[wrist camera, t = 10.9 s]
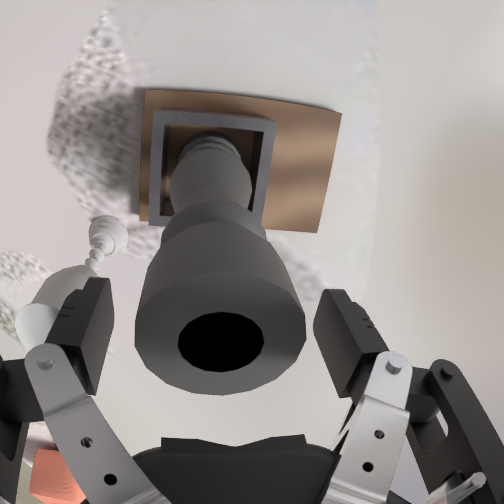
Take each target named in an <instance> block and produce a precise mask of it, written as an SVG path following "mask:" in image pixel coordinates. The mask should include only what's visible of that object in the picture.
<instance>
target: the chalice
mask: <svg viewBox="0 0 504 504" xmlns="http://www.w3.org/2000/svg"><path fill="white" fill-rule="evenodd" d="M89 240H90V245H91V248H92V250H91V251H90V253H89V254H90V258H88V259H86V261H85V265H79V266H74V267H70V268H65V269H62V270H60V271H58V272H56V273H54V274H52V275H51V276H50V277H48V278H47V279H46V280H45V282H44V283H43V285H42V287H41V288H40V290H39V291H38V293H37V294H36V296H35V298H34V299H33V301H32V302H31V304H27V305H25V306H24V307H23V308H21V309H20V310H19V311H18V313H17V316H16V318H15V326H16V332H17V334H18V337H19V339H20V341H21V343H22V344H23V346H24V347H25V348H26V350H27V351H28V352H29V351H30V350H31V349H32V348H34V347H35V346H37V345H40V344H44V342H45V340H46V338H47V336H48V333H49V331H50V329H51V327H52V325H53V323H54V321H55V319H56V317H57V316H58V313H59V311H60V309H61V308H62V305H63V303H64V301H65V299H66V297H67V296H68V295H69V294H71V293H72V292H73V291H74V290H75V289H81V290H83V288H84V286H85V284H86V282H87V280H88V278H89V277H97V274H96V273H95V272H96V271H98V269H99V263H102V262H103V261H104V258H105V257H110V256H112V255H115V254H118V253H120V252H121V251H123V250H124V248H125V247H126V246H127V243H128V232H127V229H126V227H125V226H124V224H123V223H122V222H121V221H119V220H118V219H117V218H114V217H112V216H101V217H98V218H97V219H95V220H94V221H93V222H92V224H91V225H90V228H89Z"/></svg>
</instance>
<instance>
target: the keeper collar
mask: <svg viewBox="0 0 504 504" xmlns="http://www.w3.org/2000/svg"><path fill="white" fill-rule="evenodd" d="M170 123H171V124H188V125H203V126H215V127H226V128H236V129H246V130H254V131H255V134H254V141H253V148H252V155H251V162H250V169H249V175H250V180H251V186H252V193H251V197H250V201H249V205H248V208H247V209H248V210H249V211H251V212H252V213H254V215H255V216H256V218H257V219H258V221H259V222H260V224H261V222H262V216H263V209H264V203H265V197H266V191H267V184H268V178H269V172H270V165H271V159H272V153H273V147H274V140H275V134H276V127H277V122H276V121H274V120H272V119H270V118H268V117H263V116H255V115H247V114H238V113H229V112H218V111H207V110H193V109H176V108H160V109H158V110H156V111H154V115H153V128H152V142H151V159H150V182H149V225H151V226H167V224H168V223H169V221H170V220H171V218H172V217H173V215H174V214H175V211H174V209H173V206H172V202H171V199H170V198H166V178H167V161H168V147H169V134H170Z"/></svg>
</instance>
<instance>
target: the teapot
mask: <svg viewBox="0 0 504 504" xmlns="http://www.w3.org/2000/svg"><path fill="white" fill-rule="evenodd" d="M30 493H31V494H32V495H34V496H35V497H37V498H38V499H40V500H41V501H42V502H44V503H46V504H80V503H81V502H82V501H83V500H84V499H85V498H86V497H85V495H84V493H83V492H82V490H81V489H80V487H79V485H78V484H77V482H76V480H75V479H74V477H73V475H72V473H71V472H70V470H69V468H68V466H67V464H66V463H65V461H64V459H63V457H62V455H61V453H60V451H57V450H54V449H50V450H46V449H37V452H36V455H35V458H34V462H33V468H32V474H31V483H30Z"/></svg>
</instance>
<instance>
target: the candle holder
mask: <svg viewBox="0 0 504 504" xmlns="http://www.w3.org/2000/svg"><path fill="white" fill-rule="evenodd" d="M251 193H252V186H251V180H250V175H249V173H248V171H247V170H246V168H245V166H244V165H243V163H242V158H241V155H240V153H239V150H238V149H237V147H236V146H235V144H234V142H233V141H232V139H230V138H229V137H227V136H225V135H224V134H222V133H219V132H214V131H205V132H200V133H197V134H195V135H194V136H192V137H191V138H189V139H188V140H187V141H186V143H185V144H184V145H183V147H182V148H181V150H180V153H179V155H178V159H177V165H176V169H175V170H174V172H173V173H172V176H171V181H170V187H169V195H170V199H171V202H172V206H173V209H174V211H175V214H174V215H173V217H172V218H171V220H170V221H169V223H168V224H167V226H166V227H165V229H164V231H163V232H162V238H161V245H160V249H159V250H158V252H157V253H156V255H155V257H154V258H153V260H152V261H151V263H150V265H149V267H148V269H147V273H146V277H145V281H144V286H143V289H142V294H141V298H140V302H139V306H138V311H137V315H136V320H135V348H136V350H137V351H138V353H139V355H140V357H141V359H142V360H143V362H144V364H145V366H146V368H147V369H149V370H150V371H151V372H153V373H154V374H155V375H156V376H158V377H159V378H160V379H161V380H163V381H164V382H165V383H167V384H169V385H172V386H174V387H177V388H180V389H183V390H186V391H188V392H191V393H196V394H208V395H229V394H234V393H240V392H246V391H251V390H253V389H256V388H258V387H260V386H262V385H264V384H267V383H269V382H271V381H273V380H275V379H277V378H278V377H279V376H280V375H281V374H282V373H284V371H286V370H287V369H288V368H289V367H290V366H291V365H292V364H293V363H295V362H296V360H297V358H298V356H299V353H300V352H301V350H302V347H303V345H304V343H305V341H306V323H305V314H304V312H303V309H302V306H301V304H300V301H299V299H298V297H297V294H296V292H295V289H294V287H293V284H292V282H291V279H290V277H289V275H288V272H287V270H286V267H285V265H284V263H283V261H282V260H281V258H280V257H279V255H278V254H277V252H276V251H275V249H274V248H273V246H272V245H271V243H270V242H268V241H267V239H266V232H265V230H264V229H263V227H262V226H261V224H260V222H259V221H258V219H257V218H256V216H255V215H254V213H252V212H251V211H249V210H248V209H247V208H248V205H249V201H250V197H251Z"/></svg>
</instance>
